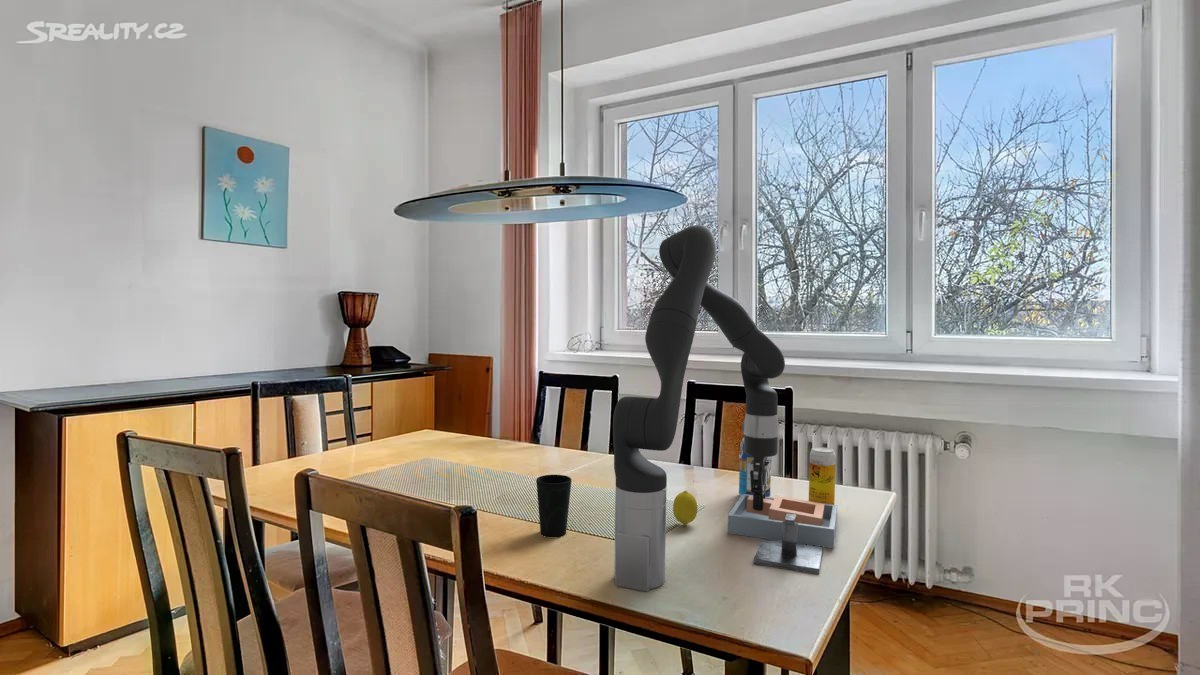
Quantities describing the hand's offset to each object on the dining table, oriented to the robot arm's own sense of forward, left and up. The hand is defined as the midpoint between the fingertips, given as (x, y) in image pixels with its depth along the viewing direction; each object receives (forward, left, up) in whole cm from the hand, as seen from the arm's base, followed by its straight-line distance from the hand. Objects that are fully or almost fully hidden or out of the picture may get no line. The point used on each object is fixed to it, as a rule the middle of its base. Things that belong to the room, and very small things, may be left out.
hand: (759, 507), depth 147 cm
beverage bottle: (+22, +4, -4) cm, 23 cm away
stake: (-18, -9, -4) cm, 20 cm away
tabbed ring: (0, -6, -2) cm, 6 cm away
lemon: (-8, +15, -4) cm, 18 cm away
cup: (-25, +40, -4) cm, 48 cm away
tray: (0, -6, -4) cm, 7 cm away
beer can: (+18, -13, -4) cm, 22 cm away
